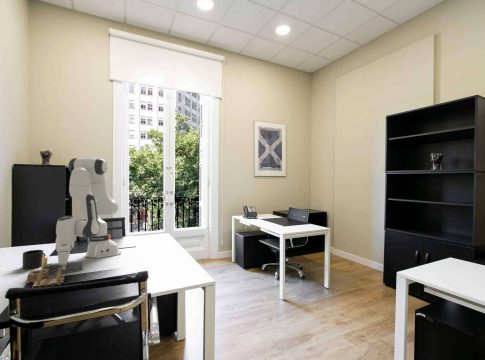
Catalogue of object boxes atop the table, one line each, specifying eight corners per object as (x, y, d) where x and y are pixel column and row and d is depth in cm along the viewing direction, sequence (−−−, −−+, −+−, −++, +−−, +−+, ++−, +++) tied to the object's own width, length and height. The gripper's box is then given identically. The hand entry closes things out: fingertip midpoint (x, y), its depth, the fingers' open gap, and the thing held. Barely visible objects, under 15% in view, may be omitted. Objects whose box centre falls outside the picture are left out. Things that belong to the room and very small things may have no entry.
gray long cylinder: (82, 267, 151) (83, 259, 151) (82, 270, 147) (82, 261, 147) (45, 272, 141) (45, 263, 141) (43, 275, 137) (44, 266, 137)
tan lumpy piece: (49, 275, 137) (49, 268, 137) (47, 280, 131) (47, 272, 131) (30, 278, 133) (30, 270, 133) (27, 283, 127) (27, 275, 127)
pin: (47, 269, 146) (47, 256, 146) (46, 271, 144) (47, 257, 144) (41, 270, 145) (42, 256, 145) (40, 272, 142) (41, 258, 142)
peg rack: (64, 278, 134) (64, 267, 134) (62, 283, 128) (63, 271, 128) (35, 282, 128) (36, 270, 128) (32, 288, 121) (32, 275, 121)
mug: (50, 263, 156) (51, 249, 156) (30, 270, 144) (30, 254, 144) (39, 262, 158) (39, 248, 158) (18, 268, 147) (18, 253, 147)
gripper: (60, 241, 151) (59, 263, 151) (56, 249, 134) (55, 275, 134) (72, 240, 155) (72, 262, 155) (70, 248, 137) (69, 273, 137)
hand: (64, 268), depth 144 cm, fingers closed on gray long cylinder, 3 cm apart
